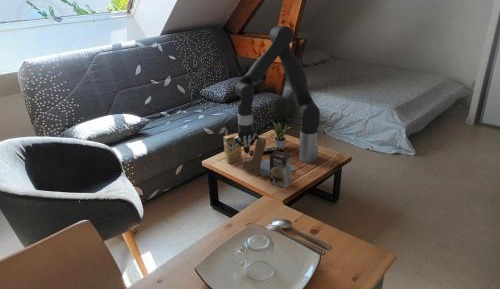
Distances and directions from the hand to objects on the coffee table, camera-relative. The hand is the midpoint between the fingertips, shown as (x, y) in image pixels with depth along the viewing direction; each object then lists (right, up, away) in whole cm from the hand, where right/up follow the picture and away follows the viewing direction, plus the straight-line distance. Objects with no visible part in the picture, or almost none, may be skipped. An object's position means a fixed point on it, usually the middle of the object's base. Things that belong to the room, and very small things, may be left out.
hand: (246, 152), depth 187 cm
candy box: (-8, -5, +16) cm, 19 cm away
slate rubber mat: (+15, -8, +8) cm, 19 cm away
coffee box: (+17, -15, -7) cm, 24 cm away
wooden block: (+2, -8, +5) cm, 10 cm away
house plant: (+19, +2, +29) cm, 34 cm away
